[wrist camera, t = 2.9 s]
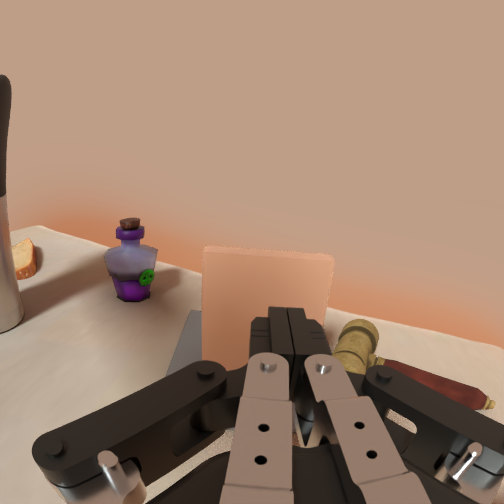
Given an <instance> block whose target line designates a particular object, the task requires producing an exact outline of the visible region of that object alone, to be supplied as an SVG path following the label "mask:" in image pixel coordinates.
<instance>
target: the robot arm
mask: <svg viewBox="0 0 504 504" xmlns="http://www.w3.org/2000/svg"><path fill="white" fill-rule="evenodd" d="M10 109H11V85H10V81H9V79H8V78H7V77H6V76H5V75H0V333H1V332H4V331H7V330H9V329H11V328H13V327H14V326H16V325H17V324H18V323H19V322H20V321H21V320H22V318H23V316H24V309H23V305H22V301H21V297H20V292H19V287H18V282H17V277H16V272H15V266H14V260H13V254H12V247H11V240H10V232H9V223H8V213H7V200H6V150H7V136H8V127H9V119H10ZM292 402H295V411H294V416H293V418H294V423H295V427H296V432H297V436H298V440H299V445H300V447H297V446H292ZM390 409H391V410H393V411H395V412H396V413H398V414H400V415H402V416H403V417H405V418H407V419H408V420H410V421H412V422H413V423H414V424H415V425H416V427H417V433H416V434H414V433H412V432H410V431H408V430H407V429H405V428H403V427H402V426H400V425H398V424H397V423H395V422H393V421H392V420H390V419H388V418H387V415H388V413H389V411H390ZM229 428H235V430H234V436H233V441H232V446H231V451H228V452H224V453H221V454H218V455H216V456H213V457H211V458H209V459H208V460H206V461H204V462H203V463H201V464H200V465H198V466H197V467H196V468H195V469H193V470H192V471H191V472H189V473H188V474H187V475H185V476H184V477H183V478H181V479H180V480H179V481H177V482H176V483H174V484H173V485H172V486H170V487H169V488H168V489H166V490H165V491H163V492H162V493H160V494H159V495H157V496H156V497H155V498H153V499H152V500H150V501H149V502H147V503H146V504H492V502H493V500H494V498H495V496H496V493H497V491H498V489H499V487H500V484H501V482H502V479H503V477H504V425H503V424H501V423H498V422H496V421H494V420H492V419H490V418H488V417H486V416H484V415H482V414H480V413H478V412H476V411H474V410H472V409H470V408H468V407H466V406H464V405H462V404H460V403H458V402H456V401H454V400H452V399H451V398H449V397H447V396H445V395H443V394H441V393H439V392H437V391H435V390H433V389H431V388H429V387H427V386H426V385H424V384H422V383H420V382H418V381H416V380H414V379H412V378H410V377H408V376H407V375H405V374H403V373H401V372H399V371H397V370H395V369H394V368H391V367H389V366H385V365H374V366H371V367H369V368H368V369H367V370H366V373H365V375H363V374H358V373H353V372H349V371H346V370H345V369H344V367H343V364H342V363H341V362H340V361H339V360H338V359H337V358H335V357H333V356H332V354H331V351H330V348H329V345H328V342H327V340H326V337H325V334H324V331H323V328H322V325H320V324H319V323H318V322H317V321H316V320H315V319H307V318H306V315H305V311H304V308H295V307H274V306H269V307H268V315H267V317H255V318H254V320H253V321H252V322H251V329H250V342H249V360H248V363H247V364H246V365H245V366H243V367H241V368H239V369H235V370H230V371H226V369H225V367H223V366H222V365H221V364H219V363H217V362H214V361H209V360H202V361H196V362H193V363H191V364H189V365H187V366H186V367H184V368H182V369H180V370H178V371H176V372H174V373H172V374H170V375H168V376H167V377H165V378H163V379H161V380H159V381H157V382H155V383H153V384H151V385H149V386H147V387H145V388H143V389H141V390H139V391H137V392H135V393H133V394H131V395H129V396H127V397H125V398H123V399H121V400H118V401H116V402H114V403H112V404H110V405H108V406H106V407H104V408H101V409H99V410H97V411H95V412H93V413H91V414H88V415H86V416H84V417H82V418H80V419H77V420H75V421H73V422H70V423H68V424H66V425H64V426H61V427H59V428H57V429H54V430H52V431H49V432H47V433H45V434H43V435H41V436H40V437H38V438H37V439H36V441H35V442H34V444H33V447H32V455H33V458H34V460H35V462H36V463H37V465H38V466H39V467H40V469H41V470H42V472H43V473H44V476H45V478H46V479H47V480H48V482H49V483H50V484H51V486H52V487H53V488H54V489H55V491H56V492H57V493H58V494H59V496H60V497H61V498H62V499H63V500H65V501H66V503H67V504H143V502H144V501H145V499H146V495H147V492H146V488H145V487H146V486H148V485H150V484H151V483H153V482H154V481H156V480H158V479H159V478H161V477H162V476H164V475H166V474H167V473H169V472H170V471H172V470H173V469H175V468H176V467H178V466H179V465H181V464H182V463H184V462H185V461H187V460H188V459H190V458H191V457H193V456H194V455H195V454H197V453H198V452H200V451H201V450H203V449H204V448H205V447H207V446H208V445H210V444H211V443H212V442H214V441H215V440H216V439H218V438H219V437H220V436H222V435H223V434H224V432H225V430H226V429H229Z"/></svg>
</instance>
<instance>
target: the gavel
mask: <svg viewBox="0 0 504 504" xmlns="http://www.w3.org/2000/svg"><path fill="white" fill-rule="evenodd" d="M378 340H379V334H378V330H377V329H376V327H375V326H374V325H373V324H372V323H371V322H369V321H367V320H364V319H355V320H352V321H350V322H348V323H347V324H346V325H345V327H344V328H343V330H342V332H341V334H340V336H339V339H338V344H337V346H336V348H335V350H334V352H333V353H332V356H333V357H335V358H337V359H338V360H339V361H340V362H341V363H342V364H343V367H344V369H345V370H346V371H349V372H353V373H358V374H363V375H365V373H366V370H367V369H368V368H369V367H371V366H374V365H385V366H389V367H391V368H394V369H395V370H397V371H399V372H401V373H403V374H405V375H407V376H408V377H410V378H412V379H414V380H416V381H418V382H420V383H422V384H424V385H426V386H427V387H429V388H431V389H433V390H435V391H437V392H439V393H441V394H443V395H445V396H447V397H449V398H451V399H452V400H454V401H456V402H458V403H460V404H462V405H464V406H466V407H468V408H470V409H472V410H477V409H486V408H487V407H488V408H489V409H493V408H494V406H495V401H493V400H490V398H489V397H488V396H486V395H485V394H484V393H483V392H482V391H480V390H479V389H478V388H475V387H472V386H469V385H465V384H462V383H459V382H456V381H453V380H450V379H447V378H444V377H441V376H438V375H435V374H432V373H429V372H426V371H423V370H421V369H418V368H415V367H412V366H409V365H406V364H404V363H401V362H398V361H394V360H389V359H384V358H381V357H378V358H377V357H376V355H374V354H373V353H374V351H375V349H376V346H377V343H378Z"/></svg>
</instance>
